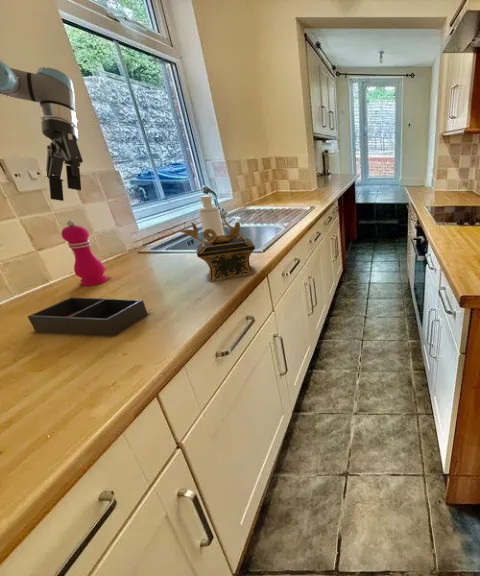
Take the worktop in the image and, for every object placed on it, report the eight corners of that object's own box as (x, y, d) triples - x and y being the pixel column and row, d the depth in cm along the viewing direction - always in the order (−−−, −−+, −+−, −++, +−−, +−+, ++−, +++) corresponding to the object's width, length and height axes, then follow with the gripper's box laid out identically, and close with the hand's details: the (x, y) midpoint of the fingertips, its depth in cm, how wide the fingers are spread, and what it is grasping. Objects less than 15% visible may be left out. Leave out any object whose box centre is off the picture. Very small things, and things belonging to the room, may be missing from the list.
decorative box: (255, 266, 115) (245, 211, 107) (260, 275, 107) (249, 216, 99) (192, 276, 106) (176, 217, 98) (192, 286, 98) (175, 223, 90)
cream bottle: (221, 261, 120) (205, 193, 110) (206, 259, 122) (189, 192, 112) (232, 255, 126) (218, 190, 116) (218, 254, 128) (203, 190, 117)
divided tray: (36, 333, 74) (27, 316, 72) (78, 312, 83) (71, 296, 82) (114, 337, 72) (106, 320, 71) (148, 315, 82) (142, 299, 80)
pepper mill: (79, 282, 102) (52, 220, 94) (108, 276, 106) (84, 216, 98) (81, 289, 97) (53, 224, 89) (111, 282, 102) (87, 220, 94)
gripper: (93, 115, 93) (99, 187, 92) (61, 142, 105) (66, 206, 104) (57, 103, 86) (64, 180, 86) (27, 133, 98) (33, 201, 98)
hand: (65, 194), depth 95 cm, fingers open, 13 cm apart
